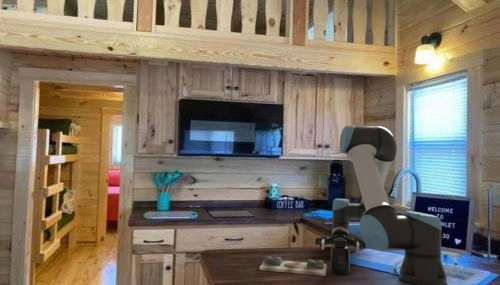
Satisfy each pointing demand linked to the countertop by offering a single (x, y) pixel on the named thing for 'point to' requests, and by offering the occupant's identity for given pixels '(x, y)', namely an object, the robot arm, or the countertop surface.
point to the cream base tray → (294, 266)
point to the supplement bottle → (340, 257)
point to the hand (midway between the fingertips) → (340, 247)
